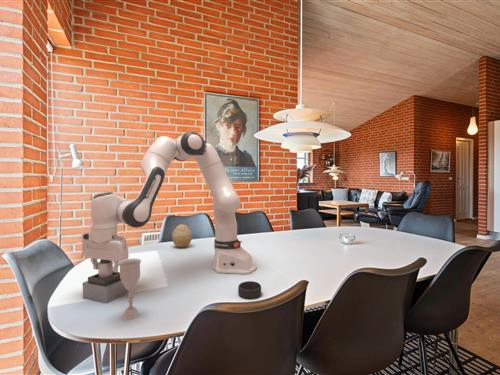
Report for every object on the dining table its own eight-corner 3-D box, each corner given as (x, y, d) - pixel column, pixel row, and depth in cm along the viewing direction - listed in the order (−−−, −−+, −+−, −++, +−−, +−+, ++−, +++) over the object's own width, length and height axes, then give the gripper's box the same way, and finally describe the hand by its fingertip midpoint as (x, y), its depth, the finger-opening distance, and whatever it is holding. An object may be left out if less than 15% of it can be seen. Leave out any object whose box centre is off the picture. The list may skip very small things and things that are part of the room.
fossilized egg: (171, 250, 176) (171, 226, 176) (172, 245, 188) (172, 223, 188) (192, 248, 179) (192, 225, 178) (191, 244, 191) (191, 222, 191)
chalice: (114, 318, 91) (112, 263, 91) (130, 309, 98) (128, 257, 97) (131, 322, 89) (130, 265, 88) (147, 312, 95) (146, 259, 94)
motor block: (127, 292, 111) (127, 272, 111) (106, 303, 102) (106, 281, 102) (98, 287, 117) (97, 268, 117) (75, 296, 108) (75, 276, 108)
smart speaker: (233, 296, 108) (233, 286, 107) (246, 288, 115) (246, 279, 115) (253, 301, 103) (253, 291, 103) (265, 293, 111) (265, 283, 110)
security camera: (115, 278, 110) (115, 258, 110) (105, 283, 105) (104, 262, 105) (106, 277, 112) (105, 257, 112) (95, 281, 107) (95, 260, 107)
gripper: (132, 235, 107) (132, 270, 108) (92, 231, 115) (93, 265, 115) (118, 238, 101) (119, 276, 102) (78, 234, 109) (79, 270, 109)
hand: (105, 270), depth 109 cm, fingers open, 8 cm apart
